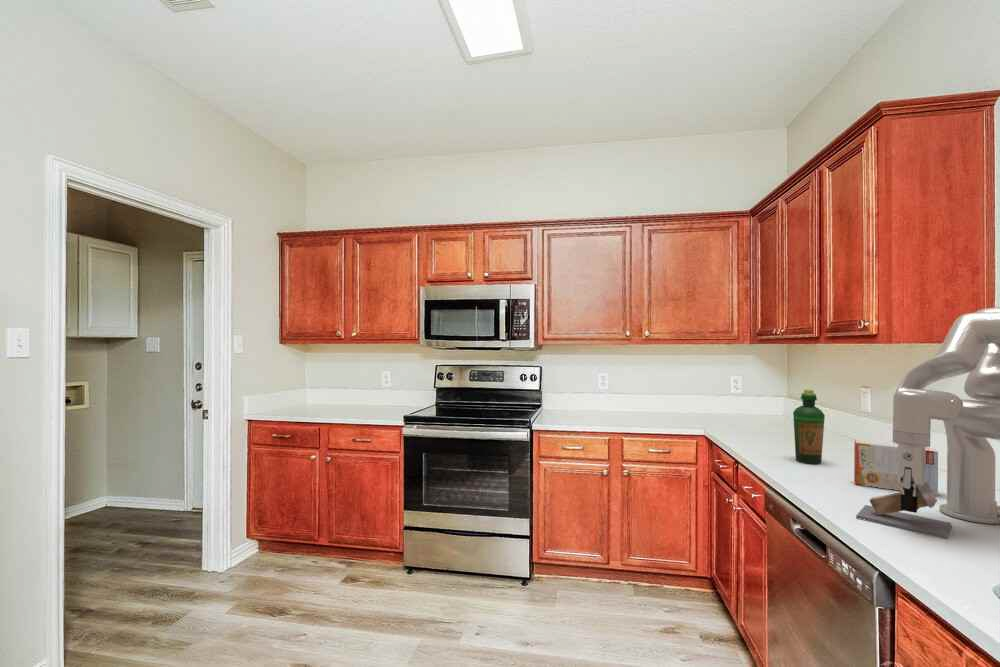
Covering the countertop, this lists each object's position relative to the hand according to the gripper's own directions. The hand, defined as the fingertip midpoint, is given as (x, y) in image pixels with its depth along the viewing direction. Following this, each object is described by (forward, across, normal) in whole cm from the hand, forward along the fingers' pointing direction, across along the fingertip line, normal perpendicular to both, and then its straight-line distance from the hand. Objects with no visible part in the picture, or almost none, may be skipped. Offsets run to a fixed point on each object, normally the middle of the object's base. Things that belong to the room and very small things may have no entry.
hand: (909, 508), depth 127 cm
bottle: (+4, +55, +36) cm, 66 cm away
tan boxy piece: (0, 0, +1) cm, 1 cm away
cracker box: (-3, +34, +18) cm, 39 cm away
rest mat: (+4, +1, +1) cm, 4 cm away
